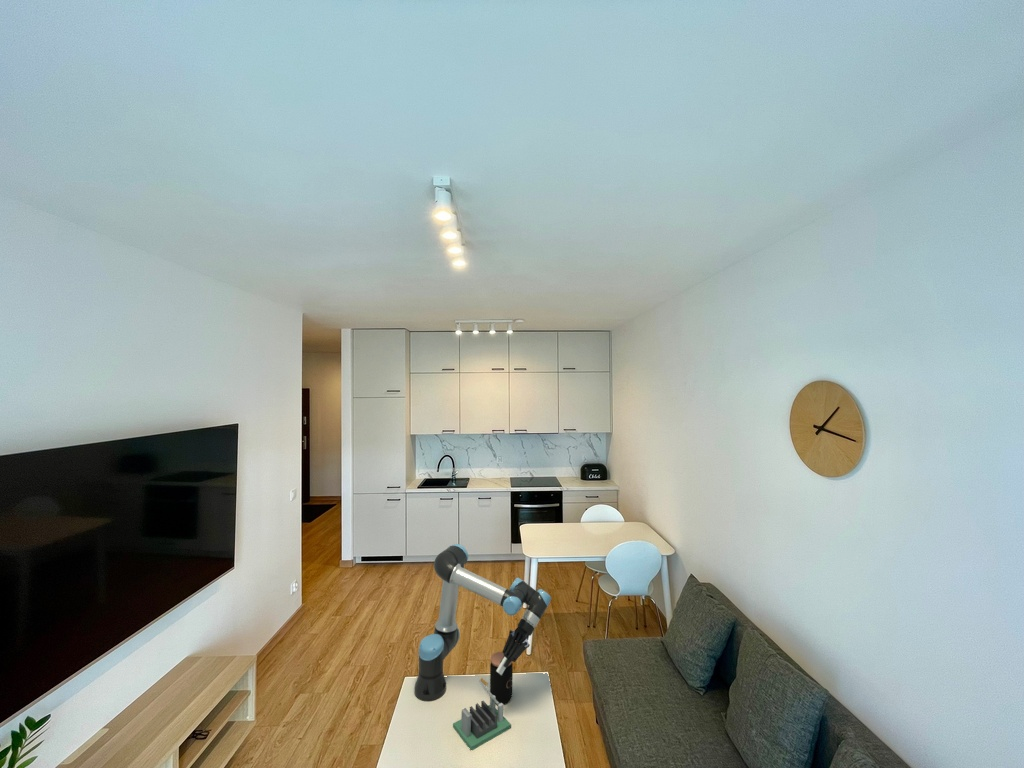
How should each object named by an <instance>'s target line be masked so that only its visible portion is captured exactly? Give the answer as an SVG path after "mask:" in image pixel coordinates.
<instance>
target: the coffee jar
mask: <svg viewBox="0 0 1024 768" xmlns="http://www.w3.org/2000/svg"><path fill="white" fill-rule="evenodd" d="M503 657H504V654H503V652H502V651H498V652H494V653H493V654H492V655H491V656H490V666H489V667H490V668H489V669H490V670H489V673H490V674H489V678H490V679H489V691H490V692H491V694H492V695H494V696H495V697H496V700H497V701H498V702H499V703H502V704H503V705H506V704H508V703H510V702H511V700H512V698H513V672H514V671H513V670H514V669H513V667H514V665H513V661H511V662H510V664H509V665H508V667H507V668H506V669H505V670H504V672H503V674H502V675H500V674H499V673H498V672H497V671H496V670H497V668H498V667H499V665H500V662H501V660H502V658H503Z"/></svg>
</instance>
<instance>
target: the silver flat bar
mask: <svg viewBox="0 0 1024 768" xmlns="http://www.w3.org/2000/svg"><path fill="white" fill-rule="evenodd" d="M478 683H479V684H480V685H481V687H482V688H483V689H484V690H485V692H486V693H487V694H488V696H489V698H490V697H491V698H492V700H493V702H494V703H495V704H496V706H497V707H498V704H500V703H499V702H498V701H497V700H496V699H495V698H494V696H493V695H492V694H491V692H490V689H488V687H487V686H488V682H487V681H486V680H485V679H484V678H483V677H481V678H480V679H479V680H478Z"/></svg>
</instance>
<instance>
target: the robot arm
mask: <svg viewBox="0 0 1024 768" xmlns="http://www.w3.org/2000/svg"><path fill="white" fill-rule="evenodd" d="M468 560H469V553H468V550H467V549H466V548H465V546H463V545H461V544H459V543H454V544H452V545H449V546H448V547H447V548H446V549H444V550H443V551H442V552H440V553H438V554H437V555H436V557H435V559H434V562H433V569H434V572H435V573H436V575H437V577H439V578H440V579H441V580H442V586H441V594H440V595H441V596H440V604H439V612H438V613H439V614H438V620H437V621H436V622H435V623H434V630H433V631H434V632H433V633H432V634H429V635H426V636H424V637H423V638H422V639H421V640H420V643H419V646H418V647H419V648H418V674H417V679H416V681H415V684H414V696H415V697H416V698H417V699H418V700H421V701H424V702H432V701H435V700H438V699H440V698H441V697H443V696H444V694H445V693H446V691H447V681H446V677H445V674H444V660H445V659H446V658H447V657H448V655H449V654H450V653H451V651H452V650H453V649H454V648H456V646H457V644H458V642H459V640H460V634H461V633H460V629H459V628H458V623H457V622H456V616H457V615H456V614H457V605H458V598H459V597H458V596H459V590H460V589H459V587H462V588H463V589H466V590H468V591H470V592H472V593H474V594H476V595H478V596H480V597H482V598H484V599H486V600H488V601H490V602H493V603H495V604H497V605H499V606H501V607H502V609H503V611H504V612H505V614H506V615H508V616H515V615H516V614H518V613H519V611H521V608H522V607H523V606H524V604H525V605H527V606H528V607H527V608H526V610H525V612H524V614H523V615H522V618H520V619H519V621H518V623H517V627H516V628H515V629H514V630H509V633H508V637H507V639H506V642H505V644H504V646H503V649H502V651H501V652H503V654H504V657H503V658H502V660H501V662H500V665H499V667H498V668H497V670H496V671H497V672H498V673H499V674H500V675H502V674H503V672H504V670H505V669H506V668H507V667H508V665H509V664H510V662H511V661H512V663H513V662H514V663H515V662H516V661H517V660H518V659H519V658H520V657H521V655H522V654H523V653H524V651H525V650H526V649H528V648H529V647H530V643H529V641H528V640H529V637H531V636H532V635H533V632H534V631H535V628H536V627H537V626H538V623H539V622H540V620H541V619H542V617H543V616H544V613H545V612H546V610H547V609H548V607H549V605H550V603H551V601H552V597H551V595H550V594H549V593H548V592H547V591H545V590H544V589H542V588H539V589H538V590H536V589H535V588H533V587H532V586H531V585H530V584H528V583H527V582H526V581H524V580H523V579H521V578H520V577H516V578H515V579H514V581H513V582H512V583H511V585H510V587H509V589H508V588H505V587H503V586H501V585H500V584H498V583H495V582H493V581H491V580H489V579H487V578H485V577H483V576H481V575H479V574H477V573H474V572H472V571H470V570H469V569H466V568H465V565H466V564H467V562H468Z"/></svg>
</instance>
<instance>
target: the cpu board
mask: <svg viewBox="0 0 1024 768" xmlns="http://www.w3.org/2000/svg"><path fill="white" fill-rule="evenodd" d="M493 696H494V695H493ZM494 698H495V699H496V697H495V696H494ZM480 704H481V705H479V703H478V702H477V703H476V704H475V708H474V707H473V706H472V705H471V706H469V710H468V709H467V707H465V708H463V709H461V718H460V719H459V720H457V721H455V722H453V724H452V728H453V729H454V731H455V733H457V734H458V735H459V737H460V739H461V740H462V741H463V742H464V744H465V743H466V744H465V745H466V747H467V748H468V747H469V748H470V749H469V748H468V749H469V750H470V751H471V750H472V751H474V750H475V749H477V748H478V747H480V746H483V745H484V744H487V742H489V741H491V740H492V739H495V738H496V737H497V736H498V737H499V736H500V735H501V734H503V733H505V732H507V731H509V730H510V729H512V724H511V723H510V721H509V720H508V719H507V718H506V717H505V716H504V704H502V703H500V704H498V706H497V705H496V704H495V703H494V702H493V700H492V698H491V697H490V696H489V705H488V704H487V702H485V701H484V700H481V703H480ZM496 706H497V707H496Z"/></svg>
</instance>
